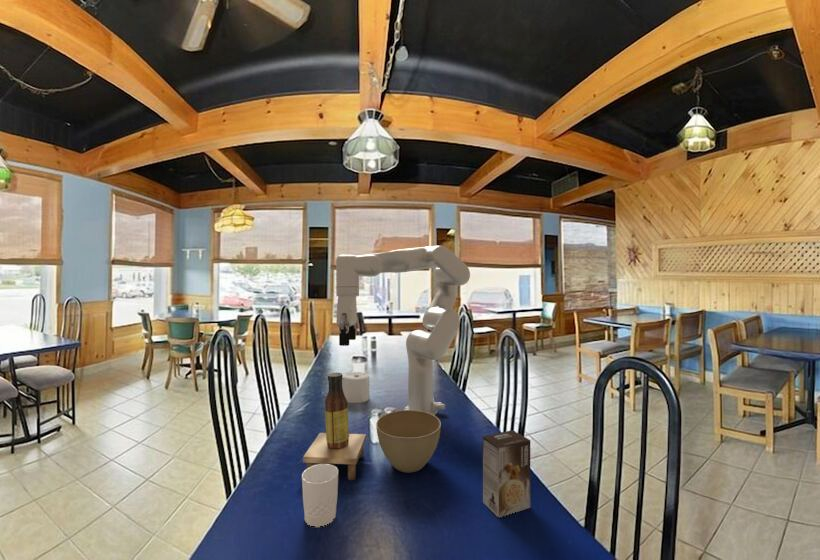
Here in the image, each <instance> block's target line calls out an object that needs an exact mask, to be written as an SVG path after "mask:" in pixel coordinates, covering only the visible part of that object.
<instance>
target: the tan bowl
mask: <svg viewBox="0 0 820 560" xmlns="http://www.w3.org/2000/svg"><path fill="white" fill-rule="evenodd" d="M375 423H376V424H375V425H376V433H377V439H378V442H379V445H380V447H381V450H382V452H383V454H384V456H385V457H386V459H387V460H388V462H389V464H391V465H392V467H394V468H395V470H396V471H399V472H402V473H409V474H411V473H415V472H418V471H421V469H423V467H425V465H427V463H428V462H429V461H430V459H431V458H432V456H433V455H434V453H435V451H436V448H437V446H438V444H439V440H440V435H441V427H442V423H441V420H440V418H438V416H436V415H432V414H430V413H427V412H423V411H417V410H404V409H401V410H395V411H392V412H388V413H386V414H384V415H381V416H380V417H379V418H378V419H377V421H376V422H375Z"/></svg>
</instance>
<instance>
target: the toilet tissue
mask: <svg viewBox="0 0 820 560" xmlns="http://www.w3.org/2000/svg"><path fill="white" fill-rule="evenodd" d="M342 387H343V392H344V395H345V397H346V400H347V404H348V403H349V404H361V403H365V402H368V401H369V400H370V374H369V373H367V372H362V371H360V372H359V371H354V372H350V373H345V375H344V376H343V379H342Z"/></svg>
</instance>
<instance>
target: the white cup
mask: <svg viewBox="0 0 820 560" xmlns="http://www.w3.org/2000/svg"><path fill="white" fill-rule="evenodd" d="M301 483H302V484H301V486H302V503H303V511H304V514H303V515H304V521H305V524H306V523H307V524H306V525H308V526H309V525H310V526H309V527H311V526H315V527H314V528H321V527H320V526H323V527H325V526H324V525H326V526H328V525H330V524H332V523H333V521H334V520H335V519H336V514H337V504H338V491H339V489H338V488H339V468H338V467H337V466H336V465H334V464H331V463H317V464H315V465H314V466H311V467H309V468H307V467H306V469H305V470H304V471H302V474H301ZM334 518H335V519H334ZM333 519H334V520H333ZM329 523H330V524H329ZM327 524H328V525H327Z"/></svg>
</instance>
